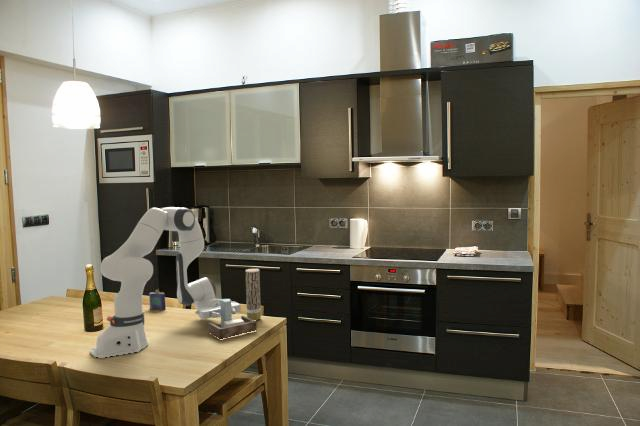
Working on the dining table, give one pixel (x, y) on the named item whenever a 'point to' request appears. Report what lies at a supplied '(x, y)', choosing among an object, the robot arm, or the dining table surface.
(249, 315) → the brown patterned cylinder
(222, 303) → the blue-grey block
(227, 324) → the offcut upper
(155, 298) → the flask
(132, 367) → the dining table surface
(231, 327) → the brown basket
